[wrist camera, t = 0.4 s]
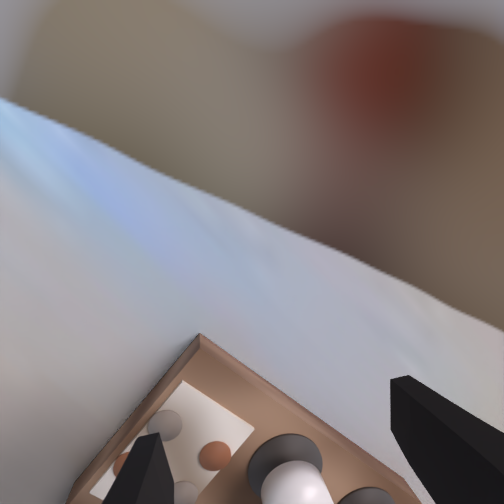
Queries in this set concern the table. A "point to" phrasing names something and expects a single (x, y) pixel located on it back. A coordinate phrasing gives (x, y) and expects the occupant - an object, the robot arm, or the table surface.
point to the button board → (236, 439)
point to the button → (295, 485)
